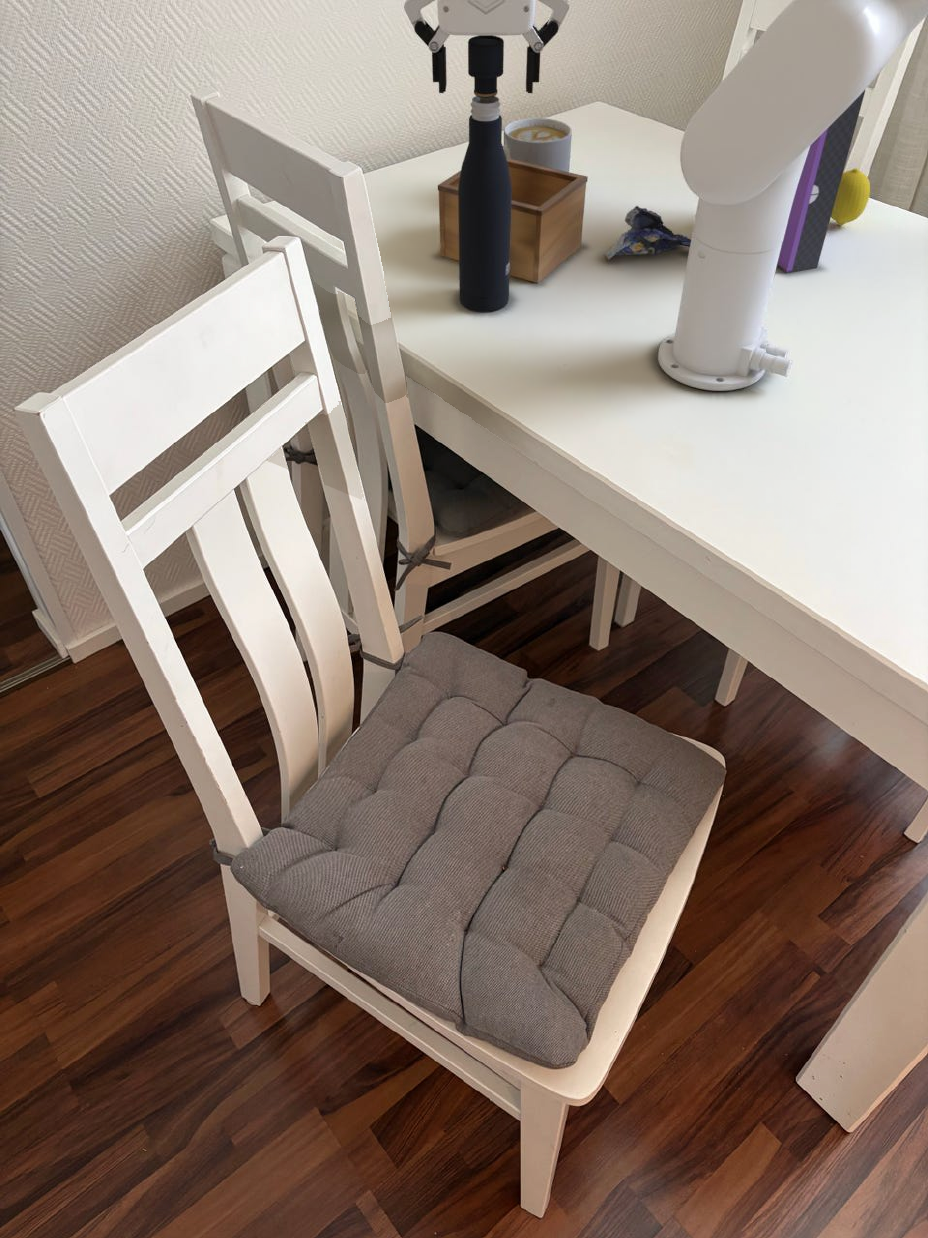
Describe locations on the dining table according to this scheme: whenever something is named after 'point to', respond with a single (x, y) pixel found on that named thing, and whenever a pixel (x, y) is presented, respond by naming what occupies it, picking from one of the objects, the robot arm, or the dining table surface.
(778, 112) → the robot arm
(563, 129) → the coffee mug
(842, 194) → the lemon
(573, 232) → the wooden box
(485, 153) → the navy water bottle
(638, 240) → the snack package
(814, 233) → the cereal box
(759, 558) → the dining table surface
